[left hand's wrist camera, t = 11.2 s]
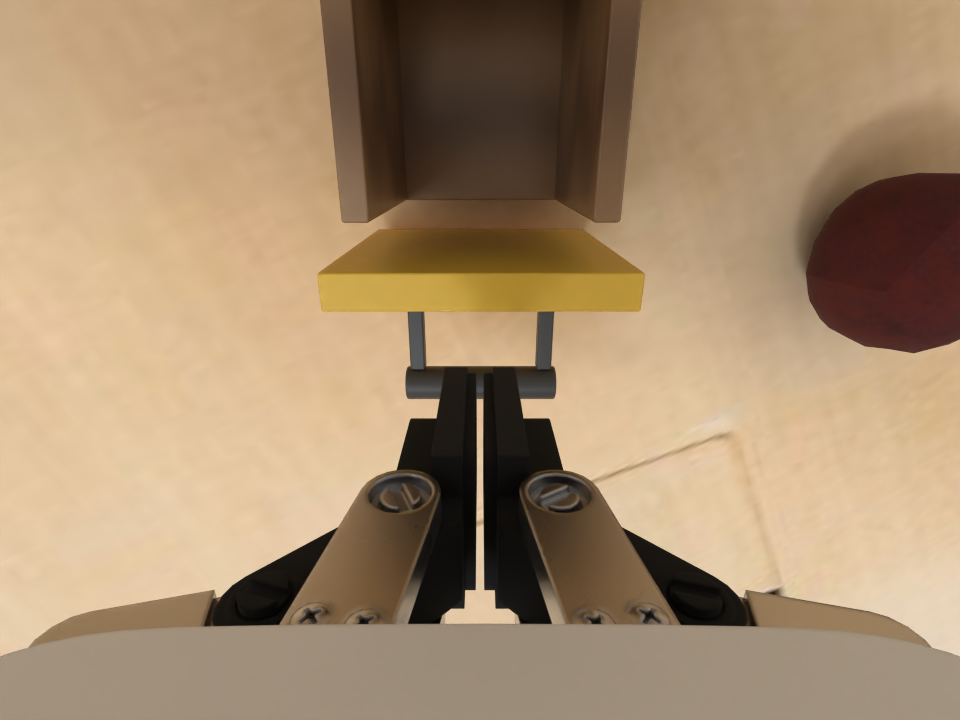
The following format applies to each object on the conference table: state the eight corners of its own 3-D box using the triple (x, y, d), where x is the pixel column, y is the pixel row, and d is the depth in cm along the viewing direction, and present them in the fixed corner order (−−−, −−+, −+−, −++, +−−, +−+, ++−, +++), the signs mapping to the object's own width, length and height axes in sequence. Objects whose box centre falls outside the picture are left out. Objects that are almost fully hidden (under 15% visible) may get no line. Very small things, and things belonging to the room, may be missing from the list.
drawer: (574, 354, 27) (623, 458, 17) (387, 355, 27) (338, 458, 17) (624, -330, 17) (783, -869, 8) (337, -329, 17) (180, -867, 8)
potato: (965, 235, 25) (1137, 262, 18) (834, 350, 27) (946, 411, 21) (876, 131, 23) (1030, 121, 17) (743, 263, 26) (834, 299, 19)
